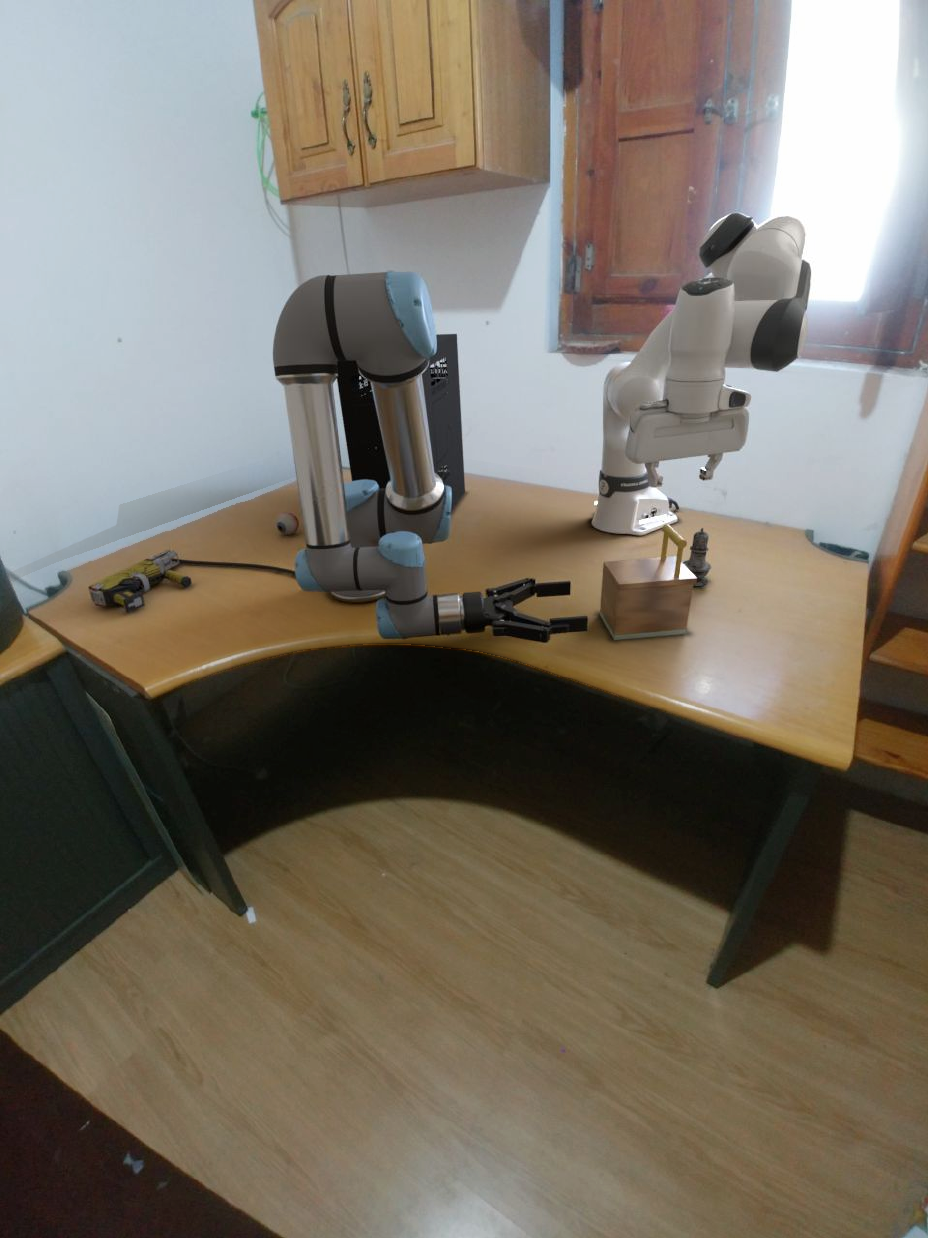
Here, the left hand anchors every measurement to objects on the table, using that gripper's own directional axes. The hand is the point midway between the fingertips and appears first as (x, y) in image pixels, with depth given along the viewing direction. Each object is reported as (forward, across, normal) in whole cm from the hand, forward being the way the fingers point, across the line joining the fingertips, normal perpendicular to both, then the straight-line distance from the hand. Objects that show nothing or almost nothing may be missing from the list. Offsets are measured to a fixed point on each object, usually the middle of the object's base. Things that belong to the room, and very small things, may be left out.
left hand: (578, 604), depth 110 cm
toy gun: (-91, -33, -6) cm, 97 cm away
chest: (+13, -2, -6) cm, 14 cm away
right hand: (+17, -2, +21) cm, 27 cm away
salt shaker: (+29, -17, -6) cm, 35 cm away
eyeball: (-66, -62, -6) cm, 90 cm away
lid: (+13, -2, +4) cm, 14 cm away
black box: (-31, -72, -6) cm, 79 cm away
